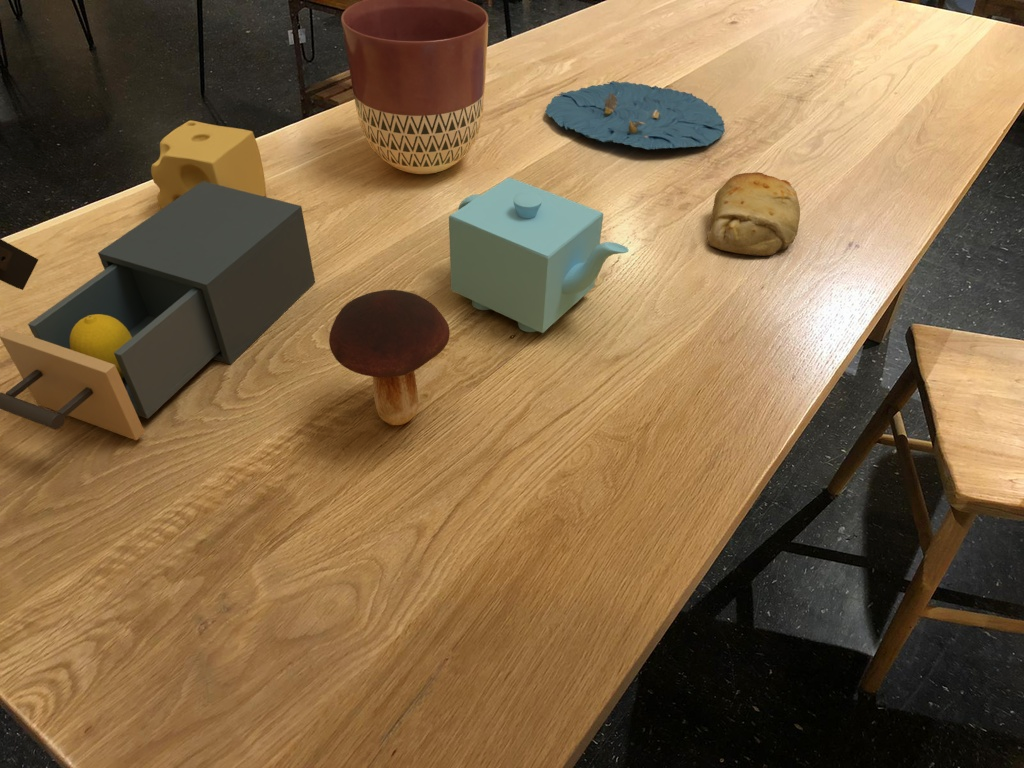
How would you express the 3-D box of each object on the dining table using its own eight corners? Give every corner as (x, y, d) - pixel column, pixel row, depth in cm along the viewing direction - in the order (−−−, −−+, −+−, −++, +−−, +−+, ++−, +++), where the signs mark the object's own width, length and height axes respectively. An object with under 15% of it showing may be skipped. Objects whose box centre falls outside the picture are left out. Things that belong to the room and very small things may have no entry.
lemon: (120, 404, 75) (91, 341, 69) (75, 389, 76) (43, 326, 71) (158, 368, 79) (133, 306, 73) (114, 355, 80) (87, 293, 74)
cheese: (162, 219, 103) (139, 150, 96) (208, 182, 111) (190, 115, 104) (230, 233, 101) (212, 163, 94) (272, 195, 109) (258, 127, 102)
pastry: (762, 202, 111) (777, 151, 105) (818, 247, 102) (837, 194, 97) (679, 220, 107) (690, 167, 101) (730, 268, 98) (745, 213, 93)
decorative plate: (545, 89, 141) (546, 60, 138) (707, 94, 141) (713, 65, 137) (544, 157, 119) (545, 124, 116) (737, 163, 119) (744, 131, 115)
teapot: (433, 293, 93) (428, 191, 83) (488, 253, 99) (489, 153, 90) (588, 367, 84) (602, 261, 74) (637, 317, 90) (656, 214, 81)
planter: (407, 211, 106) (396, 53, 92) (334, 159, 117) (313, 10, 102) (513, 170, 116) (518, 21, 101) (436, 125, 126) (431, -16, 112)
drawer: (98, 477, 69) (61, 409, 63) (-5, 437, 73) (-49, 368, 67) (237, 344, 83) (218, 278, 77) (146, 316, 87) (121, 250, 81)
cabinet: (230, 365, 82) (206, 284, 75) (129, 332, 86) (97, 252, 78) (315, 282, 94) (301, 205, 86) (223, 256, 97) (202, 180, 90)
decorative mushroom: (376, 475, 72) (358, 354, 61) (324, 407, 78) (300, 287, 68) (473, 427, 77) (472, 307, 66) (417, 366, 83) (407, 249, 73)
